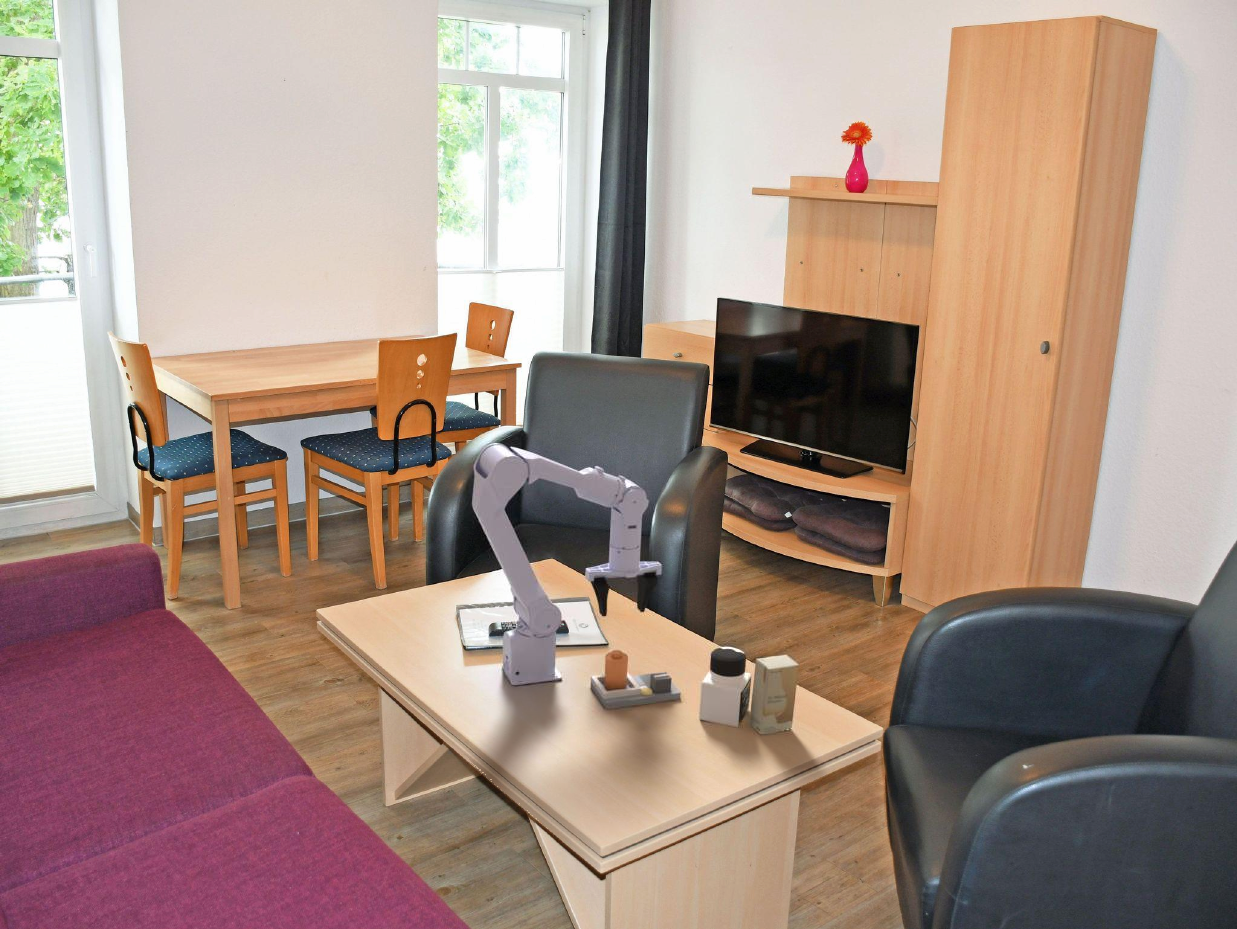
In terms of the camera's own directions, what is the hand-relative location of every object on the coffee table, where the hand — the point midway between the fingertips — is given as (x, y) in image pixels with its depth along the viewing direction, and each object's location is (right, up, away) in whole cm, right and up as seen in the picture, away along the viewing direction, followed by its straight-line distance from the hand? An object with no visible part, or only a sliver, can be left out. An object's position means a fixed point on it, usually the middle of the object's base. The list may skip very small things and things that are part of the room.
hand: (621, 612), depth 205 cm
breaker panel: (+2, -13, -10) cm, 17 cm away
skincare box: (+25, -17, -20) cm, 36 cm away
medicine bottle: (+18, -16, -16) cm, 29 cm away
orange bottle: (-1, -12, -11) cm, 16 cm away
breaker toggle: (+7, -12, -11) cm, 18 cm away
